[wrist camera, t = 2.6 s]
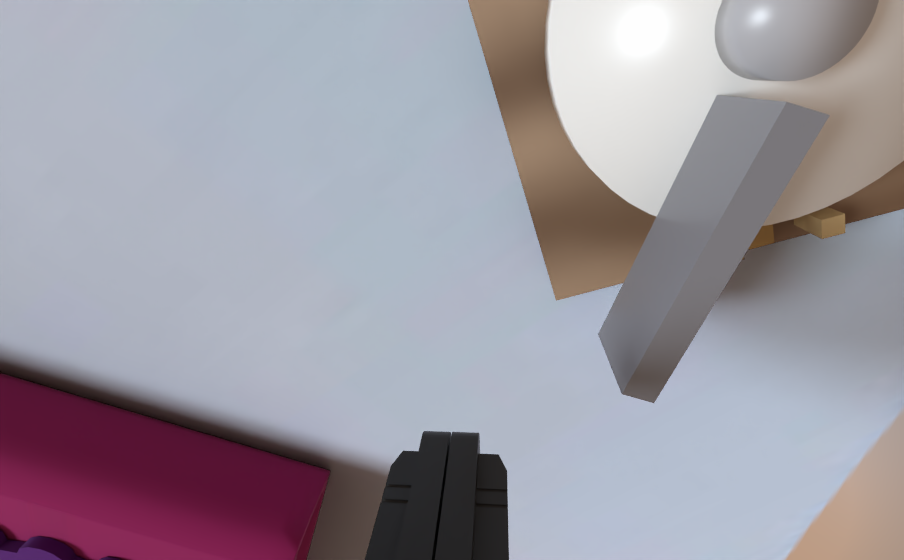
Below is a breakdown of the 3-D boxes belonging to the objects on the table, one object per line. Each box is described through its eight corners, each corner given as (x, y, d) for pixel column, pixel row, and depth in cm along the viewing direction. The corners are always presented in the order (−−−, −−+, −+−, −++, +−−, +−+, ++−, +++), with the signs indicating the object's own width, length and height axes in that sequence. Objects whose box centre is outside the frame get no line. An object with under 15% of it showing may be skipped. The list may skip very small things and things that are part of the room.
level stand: (427, -141, 16) (411, -189, 13) (1033, -453, 12) (1209, -624, 9) (552, 287, 23) (561, 319, 20) (971, 173, 19) (1060, 192, 16)
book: (-84, 331, 28) (-267, 412, 22) (337, 456, 30) (290, 571, 23) (-30, 531, 37) (-148, 634, 31) (292, 621, 39) (248, 738, 32)
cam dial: (646, -323, 13) (760, -621, 7) (1095, -170, 13) (1519, -342, 8) (460, 275, 21) (448, 345, 16) (739, 354, 21) (821, 449, 16)
